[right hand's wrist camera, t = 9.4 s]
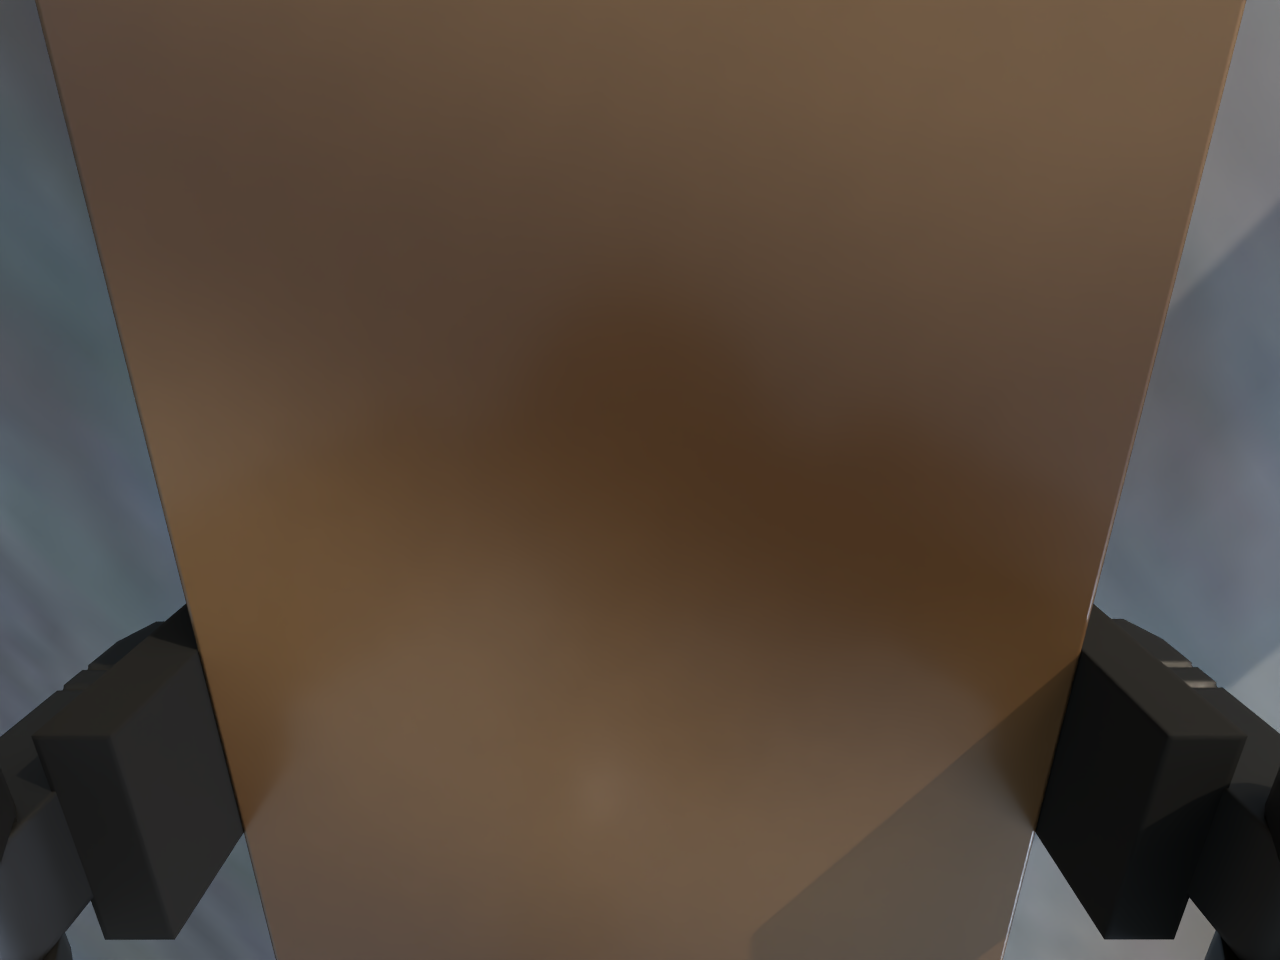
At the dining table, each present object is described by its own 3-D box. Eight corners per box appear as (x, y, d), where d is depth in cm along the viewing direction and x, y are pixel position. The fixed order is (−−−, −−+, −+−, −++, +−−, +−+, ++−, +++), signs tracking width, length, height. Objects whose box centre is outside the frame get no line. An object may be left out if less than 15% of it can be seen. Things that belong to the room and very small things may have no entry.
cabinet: (332, -343, 12) (-387, -1645, 3) (949, -342, 12) (1670, -1643, 3) (441, 640, 18) (280, 987, 10) (837, 641, 18) (998, 988, 10)
